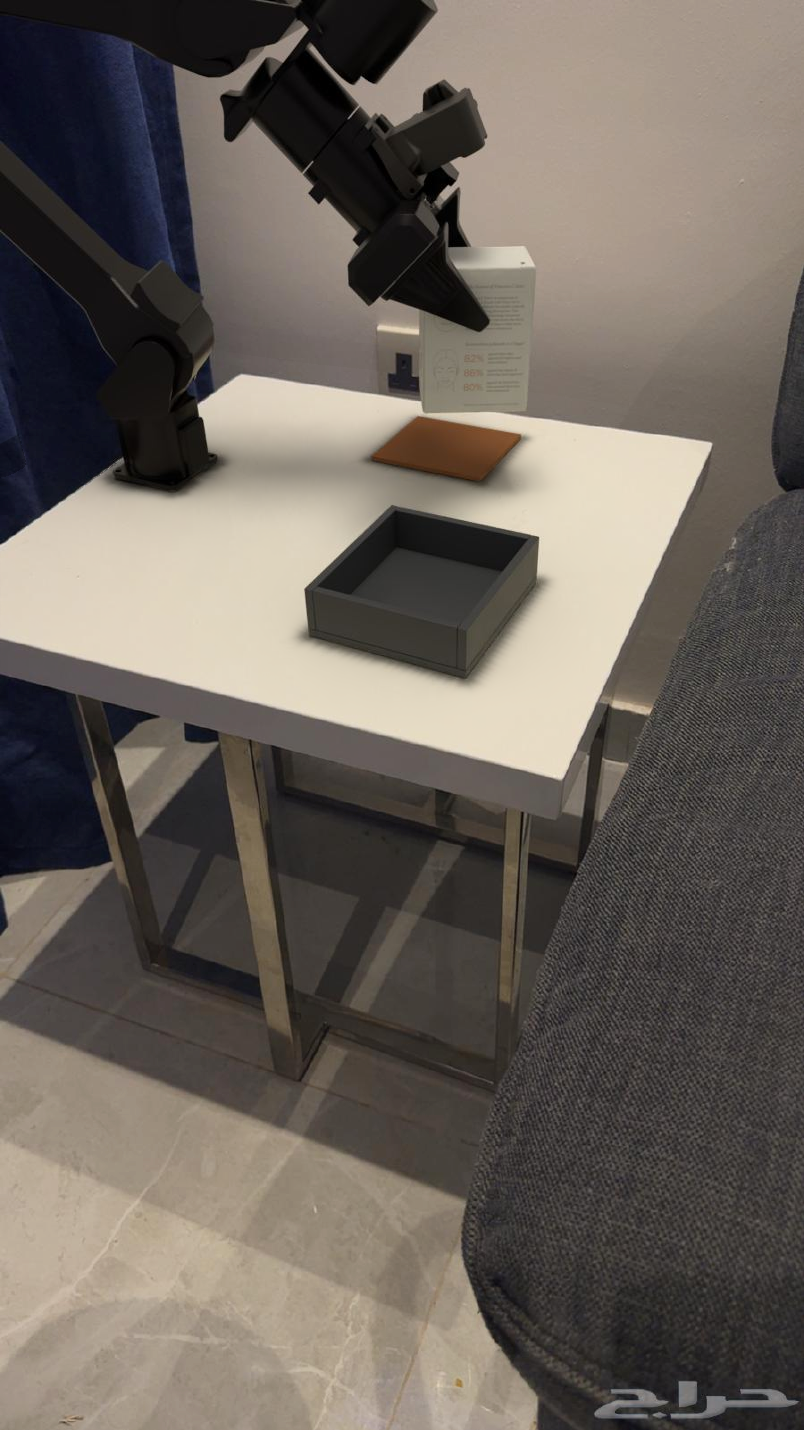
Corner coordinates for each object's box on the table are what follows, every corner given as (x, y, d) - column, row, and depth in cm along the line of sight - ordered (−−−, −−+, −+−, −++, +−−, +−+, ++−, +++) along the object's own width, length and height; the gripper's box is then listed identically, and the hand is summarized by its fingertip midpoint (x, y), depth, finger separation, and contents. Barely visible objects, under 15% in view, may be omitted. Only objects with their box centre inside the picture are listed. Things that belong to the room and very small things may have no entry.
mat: (371, 460, 87) (371, 455, 87) (417, 420, 93) (417, 415, 93) (480, 482, 84) (480, 477, 83) (520, 438, 90) (521, 434, 90)
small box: (518, 386, 82) (528, 244, 75) (527, 413, 77) (539, 265, 71) (417, 387, 82) (419, 245, 75) (420, 414, 77) (422, 266, 71)
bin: (308, 635, 67) (303, 588, 65) (393, 548, 76) (391, 504, 73) (465, 678, 63) (466, 630, 61) (536, 582, 72) (539, 536, 69)
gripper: (394, 61, 58) (574, 271, 64) (430, 23, 72) (574, 197, 78) (271, 210, 64) (446, 390, 70) (326, 147, 78) (467, 301, 84)
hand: (488, 312), depth 75 cm, fingers closed on small box, 6 cm apart
